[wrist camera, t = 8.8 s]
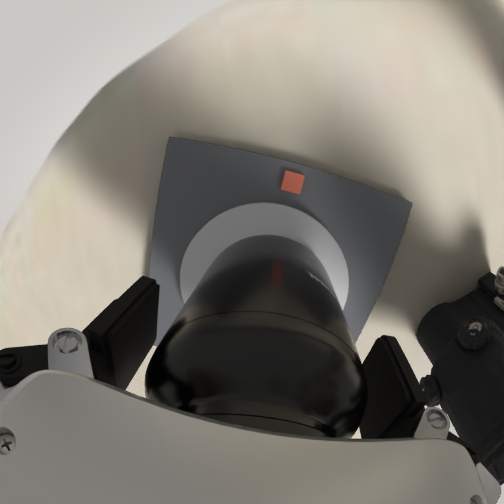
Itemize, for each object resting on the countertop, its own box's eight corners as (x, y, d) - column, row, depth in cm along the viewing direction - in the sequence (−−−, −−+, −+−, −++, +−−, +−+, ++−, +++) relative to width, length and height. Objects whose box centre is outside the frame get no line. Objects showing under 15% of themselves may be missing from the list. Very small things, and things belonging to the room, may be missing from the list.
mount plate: (406, 200, 14) (419, 205, 12) (329, 379, 19) (331, 393, 17) (174, 137, 14) (163, 135, 13) (149, 336, 19) (141, 348, 17)
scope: (565, 428, 3) (449, 517, 5) (489, 328, 16) (400, 379, 18) (614, 345, 1) (480, 489, 3) (491, 250, 14) (387, 307, 16)
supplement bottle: (349, 256, 14) (466, 466, 2) (299, 353, 16) (306, 543, 5) (225, 211, 14) (57, 401, 2) (193, 318, 16) (107, 502, 4)
